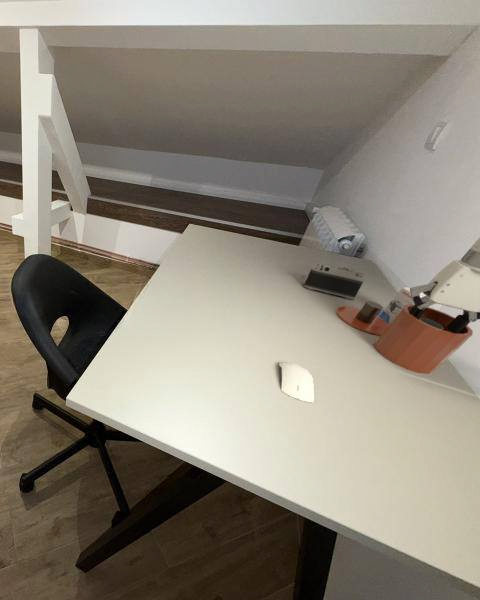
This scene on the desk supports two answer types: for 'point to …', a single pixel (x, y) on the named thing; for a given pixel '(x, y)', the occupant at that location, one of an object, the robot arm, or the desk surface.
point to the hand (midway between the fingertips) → (430, 325)
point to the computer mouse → (297, 382)
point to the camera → (334, 281)
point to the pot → (420, 340)
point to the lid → (363, 318)
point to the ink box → (401, 304)
